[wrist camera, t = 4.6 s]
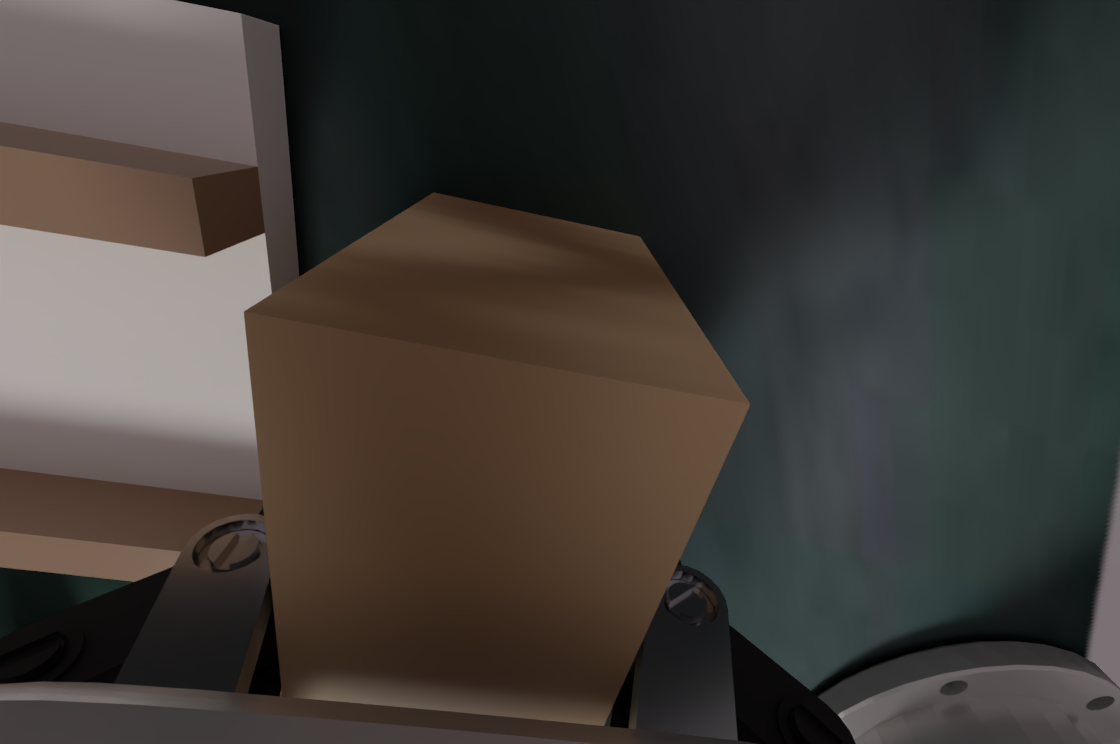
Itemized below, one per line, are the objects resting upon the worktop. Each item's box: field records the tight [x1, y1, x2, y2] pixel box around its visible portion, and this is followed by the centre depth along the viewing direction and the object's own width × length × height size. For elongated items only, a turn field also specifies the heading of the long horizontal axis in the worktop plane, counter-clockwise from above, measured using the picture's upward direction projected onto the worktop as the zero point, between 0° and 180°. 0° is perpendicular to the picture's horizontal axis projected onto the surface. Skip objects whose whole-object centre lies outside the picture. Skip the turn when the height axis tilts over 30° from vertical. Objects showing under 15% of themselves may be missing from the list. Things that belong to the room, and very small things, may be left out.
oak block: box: [244, 192, 750, 726], centre depth 10 cm, size 4×11×7 cm, turn 168°
